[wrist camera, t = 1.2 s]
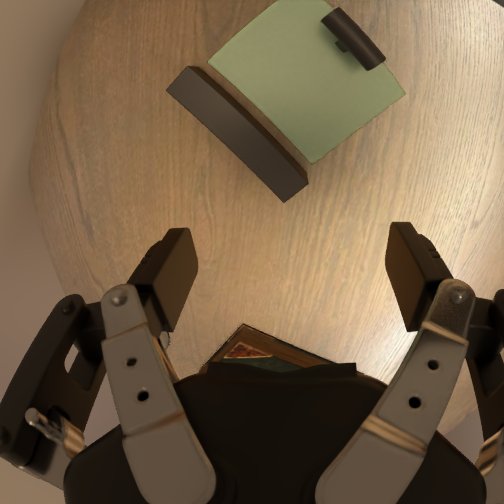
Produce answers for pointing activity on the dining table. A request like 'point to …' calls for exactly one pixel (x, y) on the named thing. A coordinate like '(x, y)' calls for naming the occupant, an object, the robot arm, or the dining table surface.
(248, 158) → the stand
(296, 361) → the book
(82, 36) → the dining table surface
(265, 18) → the sign
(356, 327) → the dining table surface
